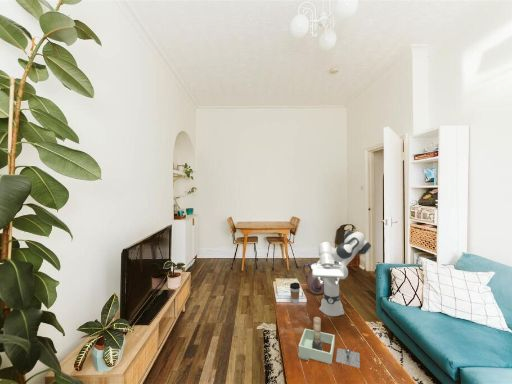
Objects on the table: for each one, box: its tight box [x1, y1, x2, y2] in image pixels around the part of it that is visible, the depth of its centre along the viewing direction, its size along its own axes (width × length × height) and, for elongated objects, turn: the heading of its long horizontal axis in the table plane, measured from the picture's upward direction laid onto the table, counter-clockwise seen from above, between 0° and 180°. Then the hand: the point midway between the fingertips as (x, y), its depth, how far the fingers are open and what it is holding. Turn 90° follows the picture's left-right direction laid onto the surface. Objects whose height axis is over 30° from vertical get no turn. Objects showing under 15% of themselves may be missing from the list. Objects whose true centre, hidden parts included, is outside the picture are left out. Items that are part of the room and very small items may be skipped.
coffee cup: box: [289, 282, 301, 304], centre depth 204 cm, size 8×8×15 cm
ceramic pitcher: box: [302, 262, 324, 295], centre depth 222 cm, size 18×21×25 cm
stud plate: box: [335, 347, 361, 369], centre depth 137 cm, size 12×12×6 cm
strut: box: [312, 316, 323, 351], centre depth 143 cm, size 5×5×19 cm
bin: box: [298, 328, 336, 365], centre depth 143 cm, size 18×18×7 cm
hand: (329, 284), depth 153 cm, fingers open, 8 cm apart
